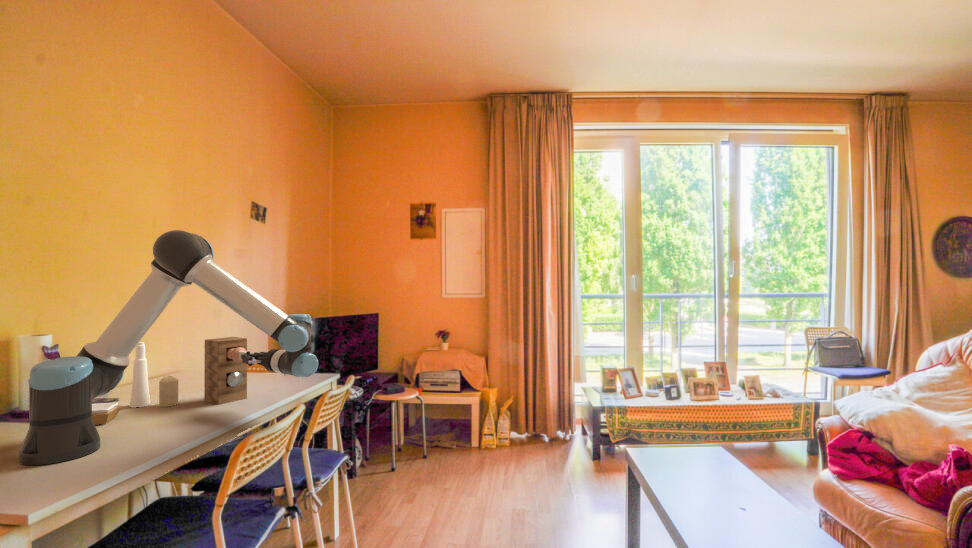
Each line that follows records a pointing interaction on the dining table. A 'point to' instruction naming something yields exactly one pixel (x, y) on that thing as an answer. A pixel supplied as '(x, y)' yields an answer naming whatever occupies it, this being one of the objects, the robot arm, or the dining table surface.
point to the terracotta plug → (234, 353)
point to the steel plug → (234, 379)
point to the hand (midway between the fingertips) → (240, 355)
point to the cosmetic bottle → (140, 379)
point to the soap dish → (104, 412)
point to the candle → (168, 391)
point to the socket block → (223, 370)
